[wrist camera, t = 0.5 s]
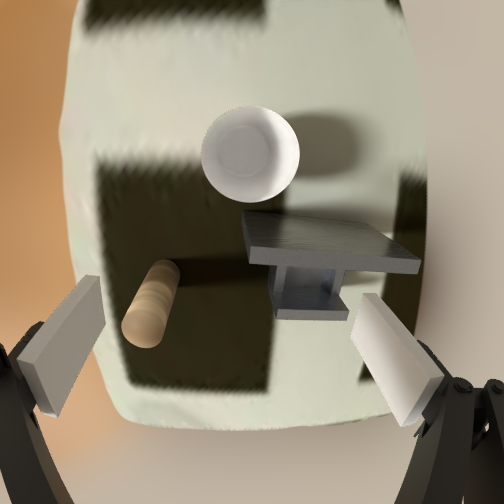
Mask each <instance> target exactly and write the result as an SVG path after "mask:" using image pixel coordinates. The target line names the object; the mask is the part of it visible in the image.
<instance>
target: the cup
mask: <svg viewBox="0 0 504 504" xmlns="http://www.w3.org/2000/svg"><path fill="white" fill-rule="evenodd" d="M299 157H300V151H299V144H298V140H297V137H296V135H295V133H294V131H293V129H292V128H291V126H290V125H289V124H288V123H287V121H286V120H285V119H284V118H282V117H281V116H280V115H278V114H277V113H275V112H273V111H271V110H269V109H266V108H263V107H258V106H243V107H238V108H235V109H232V110H230V111H228V112H226V113H224V114H222V115H221V116H220V117H218V118H217V119H216V120H215V121H214V122H213V123H212V125H211V126H210V127H209V129H208V130H207V132H206V134H205V136H204V139H203V142H202V147H201V161H202V166H203V170H204V172H205V175H206V177H207V178H208V180H209V181H210V183H211V184H212V185H213V186H214V187H215V188H216V189H217V190H218V191H219V192H220V193H222V194H223V195H225V196H226V197H229V198H231V199H233V200H237V201H241V202H259V201H264V200H267V199H269V198H272V197H274V196H275V195H277V194H279V193H280V192H281V191H282V190H284V189H285V188H286V187H287V186H288V184H289V183H290V182H291V180H292V179H293V177H294V175H295V173H296V171H297V168H298V164H299Z"/></svg>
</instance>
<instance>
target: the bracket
mask: <svg viewBox="0 0 504 504" xmlns="http://www.w3.org/2000/svg"><path fill="white" fill-rule="evenodd" d="M241 223H242V229H243V234H244V239H245V245H246V250H247V255H248V261H249V263H250V264H264V265H270V266H269V273H268V280H267V288H268V291H269V295H270V298H271V302H272V306H273V309H274V313H275V316H276V319H282V320H333V321H347V317H348V314H349V310H348V308H347V307H346V305H345V304H344V302H343V301H342V299H341V298H340V297H339V293H340V290H341V285H342V281H343V277H344V273H345V270H355V271H371V272H388V273H406V274H417V273H418V270H419V266H420V263H421V260H420V259H419V258H417V257H416V256H415V255H413V254H412V253H410V252H409V251H407V250H406V249H405V248H403V247H402V246H400V245H399V244H397V243H396V242H394V241H393V240H391V239H390V238H388V237H387V236H385V235H384V234H382V233H381V232H379V231H378V230H376V229H374V228H373V227H371V226H370V225H368V224H362V223H354V222H346V221H338V220H329V219H320V218H311V217H302V216H292V215H282V214H272V213H262V212H251V211H243V212H242V222H241Z"/></svg>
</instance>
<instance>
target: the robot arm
mask: <svg viewBox="0 0 504 504" xmlns="http://www.w3.org/2000/svg"><path fill="white" fill-rule="evenodd" d="M105 324H106V322H105V316H104V309H103V302H102V295H101V287H100V278H99V276H92V275H85V276H84V277H83V278H82V280H81V281H80V282H79V283H78V284H77V285H76V286H75V287H74V289H73V290H72V291H71V292H70V293H69V294H68V295H67V297H66V298H65V299H64V300H63V301H62V302H61V304H60V305H59V306H58V307H57V308H56V310H55V311H54V312H53V313H52V314H51V315H50V317H49V318H48V319H47V320H46V322H41V321H40V322H38V323H36V324H35V325H33V326H31V328H30V329H29V330H28V331H27V332H26V334H25V336H23V337H22V338H21V340H20V341H19V342H18V343H17V345H16V346H15V347H14V348H13V350H12V351H11V352H10V354H9V355H8V356H7V354H6V351H5V349H4V346H3V345H2V344H1V343H0V470H1V473H2V476H3V479H4V482H5V486H6V488H7V492H8V494H9V497H10V500H11V503H12V504H74V503H73V500H72V499H71V497H70V495H69V493H68V491H67V489H66V487H65V485H64V483H63V481H62V479H61V477H60V475H59V473H58V471H57V469H56V466H55V464H54V462H53V460H52V457H51V455H50V453H49V450H48V448H47V445H46V443H45V441H44V438H43V435H42V432H41V430H40V427H39V424H38V421H37V418H36V415H35V413H34V412H33V409H34V407H35V405H36V403H37V405H38V407H39V409H40V411H41V413H43V414H46V415H49V416H52V417H55V418H58V416H59V414H60V412H61V410H62V408H63V406H64V403H65V401H66V399H67V397H68V395H69V393H70V391H71V388H72V387H73V384H74V383H75V381H76V378H77V377H78V375H79V373H80V371H81V369H82V367H83V365H84V363H85V361H86V359H87V357H88V355H89V353H90V352H91V350H92V348H93V346H94V344H95V342H96V340H97V339H98V337H99V335H100V333H101V331H102V330H103V328H104V326H105ZM350 337H351V339H352V341H353V343H354V344H355V346H356V348H357V350H358V351H359V353H360V355H361V357H362V358H363V360H364V362H365V364H366V365H367V367H368V369H369V371H370V372H371V374H372V376H373V378H374V380H375V381H376V383H377V385H378V387H379V388H380V390H381V392H382V394H383V396H384V398H385V399H386V401H387V403H388V405H389V407H390V409H391V410H392V412H393V414H394V416H395V418H396V419H397V422H398V423H399V425H400V427H404V426H408V425H412V424H415V423H416V421H417V420H418V418H419V417H420V415H421V414H422V415H423V417H424V419H425V420H424V422H423V423H422V425H421V426H420V427H419V429H418V430H417V432H416V433H415V434H414V437H416V436H417V435H418V434H419V435H418V439H417V442H416V446H415V449H414V452H413V455H412V458H411V461H410V464H409V467H408V470H407V473H406V475H405V478H404V481H403V483H402V486H401V488H400V491H399V493H398V496H397V498H396V501H395V503H394V504H462V500H463V495H464V504H504V383H503V382H502V381H500V380H496V379H490V380H488V381H487V383H486V384H485V386H484V388H474V387H473V386H472V384H471V383H470V382H468V381H467V380H465V379H463V378H459V377H454V378H453V377H452V376H451V374H450V373H449V372H448V371H447V370H446V368H445V367H444V366H443V365H442V363H441V362H440V361H439V360H437V357H436V356H435V355H434V354H433V352H432V351H431V350H430V349H429V347H428V346H427V345H425V344H424V343H422V342H421V341H419V340H416V339H415V338H414V337H413V336H412V334H411V333H410V332H409V331H408V330H407V329H406V327H405V326H404V325H403V324H402V323H401V321H400V320H399V319H398V318H397V317H396V316H395V314H394V313H393V312H392V311H391V310H390V309H389V308H388V306H387V305H386V304H385V303H384V302H383V301H382V300H381V298H380V297H379V296H378V295H377V294H376V293H363V296H362V300H361V303H360V307H359V310H358V314H357V317H356V320H355V323H354V327H353V330H352V333H351V336H350ZM488 423H489V429H488V431H487V432H486V430H485V426H486V425H487V424H488Z"/></svg>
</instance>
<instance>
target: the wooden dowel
mask: <svg viewBox="0 0 504 504" xmlns="http://www.w3.org/2000/svg"><path fill="white" fill-rule="evenodd" d="M179 279H180V270H179V268H178V267H177V265H176V264H175V263H173V262H172V261H170V260H166V259H162V260H158V261H156V262H155V263H154V264H153V265H152V266H151V268H150V270H149V272H148V274H147V275H146V277H145V279H144V281H143V283H142V285H141V287H140V288H139V290H138V292H137V294H136V296H135V298H134V300H133V302H132V304H131V306H130V307H129V309H128V311H127V313H126V315H125V317H124V319H123V321H122V332H123V334H124V336H125V337H126V339H127V340H128V341H129V342H131V343H132V344H134V345H136V346H138V347H142V348H151V347H154V346H156V345H158V344H159V343H160V342H161V340H162V337H163V334H164V330H165V326H166V323H167V320H168V316H169V313H170V309H171V306H172V302H173V299H174V296H175V292H176V289H177V286H178V283H179Z"/></svg>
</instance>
